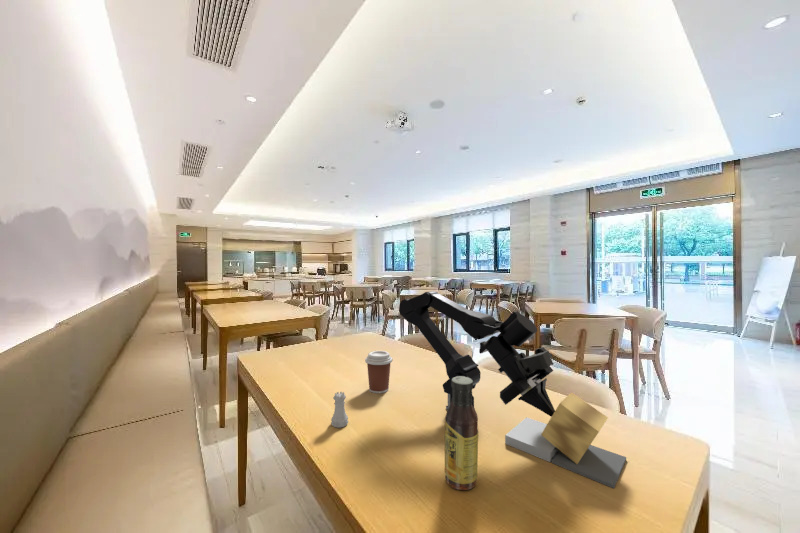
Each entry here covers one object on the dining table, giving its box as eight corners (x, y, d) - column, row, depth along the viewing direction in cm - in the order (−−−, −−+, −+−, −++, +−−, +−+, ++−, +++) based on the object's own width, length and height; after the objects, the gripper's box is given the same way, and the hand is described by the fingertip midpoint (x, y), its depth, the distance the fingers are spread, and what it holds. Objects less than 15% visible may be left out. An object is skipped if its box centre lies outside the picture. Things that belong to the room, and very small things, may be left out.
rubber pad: (551, 462, 67) (551, 460, 67) (569, 440, 76) (569, 437, 76) (613, 488, 59) (613, 485, 59) (626, 459, 68) (626, 457, 68)
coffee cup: (360, 392, 104) (360, 355, 104) (372, 382, 112) (372, 348, 112) (385, 396, 101) (385, 358, 101) (396, 386, 109) (396, 351, 109)
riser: (505, 443, 74) (505, 435, 74) (526, 425, 83) (526, 417, 83) (550, 462, 67) (550, 452, 67) (568, 439, 76) (568, 431, 76)
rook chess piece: (351, 421, 85) (351, 391, 85) (343, 429, 81) (342, 398, 81) (336, 418, 86) (336, 389, 86) (327, 426, 82) (327, 395, 82)
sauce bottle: (441, 471, 64) (441, 373, 64) (471, 470, 65) (471, 372, 65) (449, 495, 58) (448, 385, 58) (482, 493, 58) (482, 384, 58)
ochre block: (540, 434, 70) (559, 403, 68) (553, 421, 76) (571, 392, 73) (577, 464, 66) (599, 431, 63) (587, 448, 71) (608, 417, 69)
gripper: (512, 345, 69) (568, 411, 62) (544, 331, 83) (593, 385, 75) (480, 373, 75) (527, 437, 67) (515, 356, 88) (558, 408, 81)
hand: (554, 415), depth 72 cm, fingers closed
